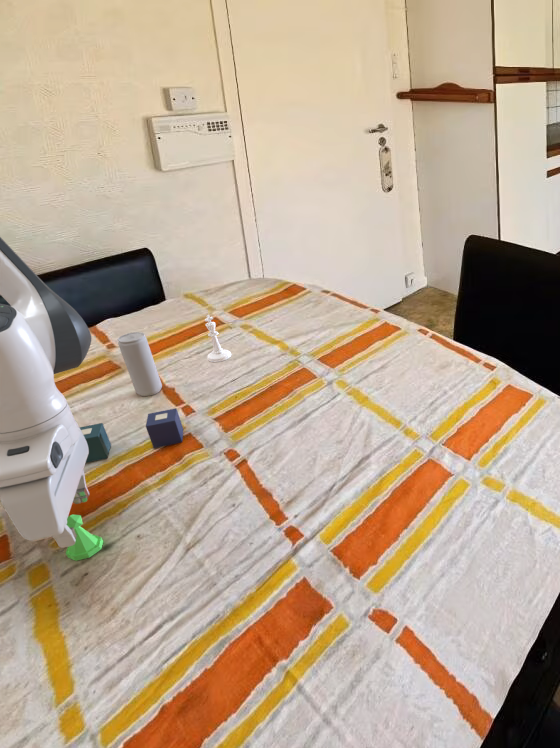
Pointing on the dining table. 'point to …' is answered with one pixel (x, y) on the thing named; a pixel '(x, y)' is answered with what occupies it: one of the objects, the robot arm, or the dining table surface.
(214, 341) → the chess piece
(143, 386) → the beverage can
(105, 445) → the letter blocks
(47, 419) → the robot arm
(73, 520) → the game piece
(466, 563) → the dining table surface
